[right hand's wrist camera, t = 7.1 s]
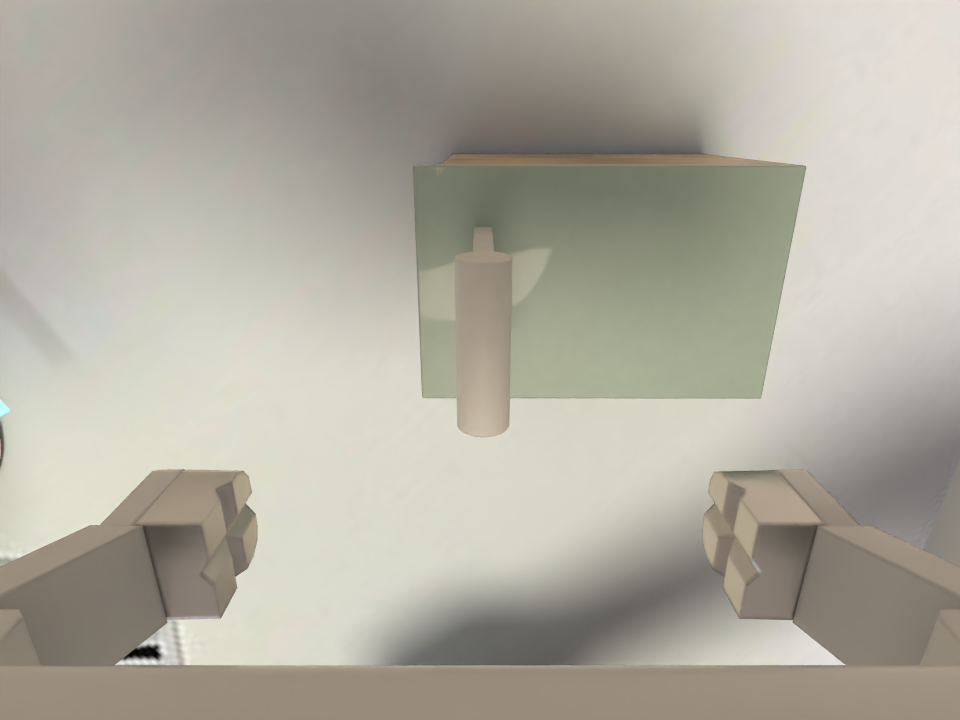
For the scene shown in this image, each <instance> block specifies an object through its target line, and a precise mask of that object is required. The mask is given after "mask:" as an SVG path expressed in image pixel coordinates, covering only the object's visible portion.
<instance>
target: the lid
mask: <svg viewBox="0 0 960 720" xmlns="http://www.w3.org/2000/svg"><path fill="white" fill-rule="evenodd" d="M805 171H806V166H803V165H794V164H417V165H415V166H413V180H414V205H415V230H416V255H417V280H418V306H419V331H420V356H421V381H422V397H423V398H457V425H458V428H459V429H460V430H461V431H462V432H463V433H465V434H468V435H471V436H476V437H491V436H496V435H499V434H501V433H503V432H505V431H506V430H507V429H508V427H509V408H510V398H761V395H762V390H763V385H764V380H765V375H766V369H767V364H768V359H769V354H770V349H771V344H772V339H773V334H774V329H775V324H776V318H777V313H778V308H779V303H780V298H781V293H782V288H783V283H784V278H785V273H786V267H787V262H788V257H789V252H790V247H791V242H792V237H793V232H794V227H795V222H796V216H797V211H798V206H799V201H800V196H801V191H802V186H803V181H804V176H805Z"/></svg>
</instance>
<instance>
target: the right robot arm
mask: <svg viewBox="0 0 960 720" xmlns="http://www.w3.org/2000/svg"><path fill="white" fill-rule="evenodd" d="M9 411H10V410H9V409H8V408H7V407H6V405H5V404H4V403H3V402H2V401H1V400H0V416H2V415H4V414H5V413H7V412H9ZM0 457H1V440H0ZM251 493H252V490H251V485H250V481H249V476H248V475H247V474H246V473H245V472H244V471H227V470H184V469H175V470H156V471H152V472H151V473H150V474H149V475H148V476H147V477H146V478H145V479H144V480H143V481H142V482H141V483H140V484H139V485H138V486H137V487H136V488H135V490H134V491H133V492H132V493H131V494H130V495H129V496H128V497H127V498H126V499H125V500H124V501H123V502H122V503H121V504H120V505H119V506H118V507H117V508H116V509H115V510H114V511H113V512H112V513H111V514H110V515H109V516H108V517H107V518H106V519H105V520H104V521H103V522H102V523H101V525H91V526H88V527H86V528H83V529H81V530H79V531H77V532H75V533H73V534H70V535H68V536H66V537H64V538H62V539H59V540H57V541H55V542H53V543H51V544H49V545H46V546H44V547H42V548H40V549H38V550H36V551H33V552H31V553H29V554H27V555H25V556H22V557H20V558H18V559H16V560H14V561H12V562H9V563H7V564H5V565H3V566H1V567H0V720H960V567H959V566H957V565H955V564H953V563H950V562H948V561H946V560H944V559H942V558H940V557H937V556H935V555H933V554H931V553H929V552H926V551H924V550H922V549H920V548H918V547H916V546H913V545H911V544H909V543H907V542H905V541H903V540H900V539H898V538H896V537H894V536H892V535H890V534H887V533H885V532H883V531H881V530H879V529H877V528H874V527H872V526H869V525H860V524H859V523H858V522H857V521H856V520H855V519H854V518H853V517H852V516H851V515H850V514H849V513H848V512H847V511H846V510H845V509H844V508H843V507H842V506H841V505H840V504H839V503H838V502H837V501H836V500H835V499H834V498H833V497H832V496H831V495H830V493H829V492H828V491H827V490H826V489H825V488H824V487H823V486H822V485H821V484H820V483H819V482H818V481H817V480H816V479H815V478H814V477H813V476H812V475H811V474H810V473H809V472H807V471H805V470H802V469H791V470H767V471H727V472H714V473H713V475H712V478H711V480H710V484H709V490H708V493H709V495H710V496H711V498H712V500H713V501H714V503H715V504H714V505H713V506H712V507H711V508H710V509H709V510H708V511H707V512H706V513H705V514H704V520H703V528H702V533H703V545H704V549H705V552H706V556H707V558H708V560H709V562H710V564H711V566H712V568H713V569H714V570H716V571H717V572H719V573H720V574H722V575H723V576H724V577H725V578H724V584H723V589H724V591H725V593H726V595H727V597H728V598H729V600H730V602H731V604H732V606H733V608H734V610H735V611H736V613H737V615H738V617H739V619H775V620H793V623H794V624H795V625H797V626H798V627H799V628H800V629H802V630H803V631H804V632H805V633H807V634H808V635H809V636H810V637H812V638H813V639H814V640H815V641H816V642H818V643H819V644H820V645H821V646H823V647H824V648H825V649H826V650H828V651H829V652H830V653H831V654H833V655H834V656H835V657H836V658H838V659H839V660H840V661H841V662H843V663H844V664H845V665H556V666H266V665H115V664H116V663H117V662H119V661H120V660H121V659H122V658H124V657H125V656H126V655H127V654H129V653H130V652H131V651H132V650H134V649H135V648H136V647H137V646H139V645H140V644H141V643H142V642H144V641H145V640H146V639H147V638H149V637H150V636H151V635H152V634H154V633H155V632H156V631H157V630H159V629H160V628H161V627H163V626H164V625H165V624H166V623H167V620H184V619H219V618H221V617H222V615H223V613H224V612H225V610H226V608H227V606H228V604H229V602H230V600H231V599H232V597H233V595H234V593H235V591H236V589H237V584H236V578H235V577H236V576H237V575H238V574H240V573H241V572H243V571H244V570H246V569H247V568H248V566H249V564H250V562H251V560H252V558H253V556H254V552H255V548H256V543H257V527H258V526H257V519H256V514H255V513H254V512H253V511H252V510H251V509H250V508H249V507H248V506H247V505H246V504H245V503H246V501H247V500H248V498H249V496H250V495H251Z"/></svg>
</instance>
